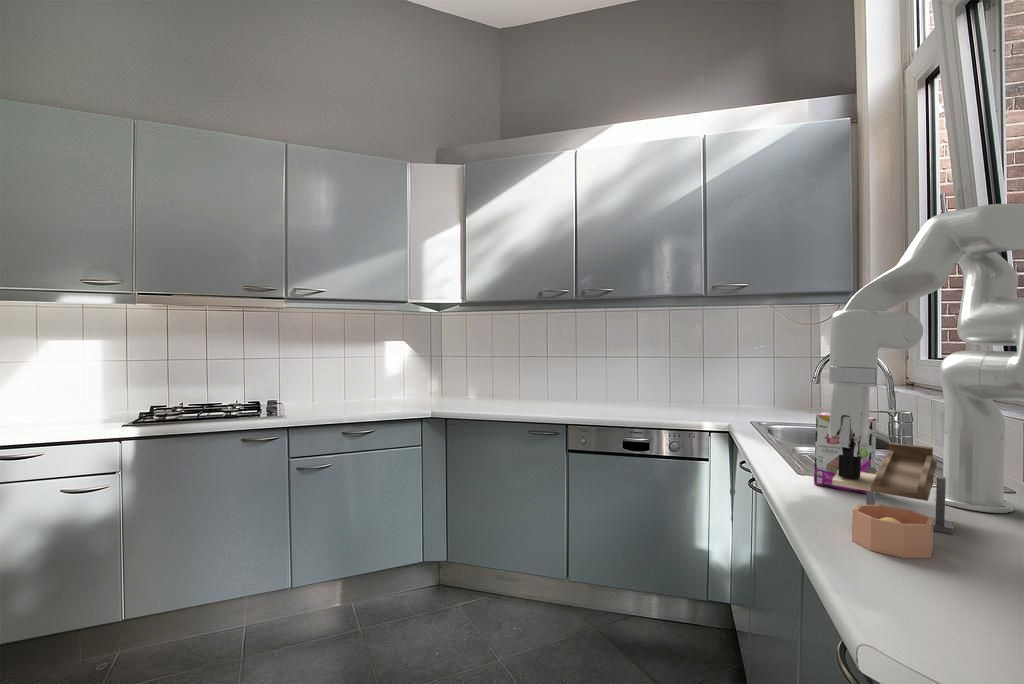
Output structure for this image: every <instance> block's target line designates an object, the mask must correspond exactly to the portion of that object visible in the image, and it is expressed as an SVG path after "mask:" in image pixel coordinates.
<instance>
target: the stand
mask: <svg viewBox="0 0 1024 684" xmlns="http://www.w3.org/2000/svg"><path fill="white" fill-rule="evenodd" d="M867 473H871V474H877V467H876V466H875V467H868V468H867ZM935 486H936V490H935V492H936V500H935V518H934V517H932V518H933V519H934V520H933V532H938V533H943V534H948V535H953V533H954V528H955V522H954V521H952V520H946V504H945V493H946V477H943V476H937V477H936V485H935ZM876 493H877V492H872V491H867V494H866V504H865V505H876Z"/></svg>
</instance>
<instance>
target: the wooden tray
mask: <svg viewBox="0 0 1024 684" xmlns="http://www.w3.org/2000/svg"><path fill="white" fill-rule="evenodd" d="M933 453H934V448H933V447H932V446H924V445H923V446H922V445H915V444H906V443H899V442H898V443H897V442H889V444H888V452H887V453H885V455H884V458H883V460H882V462H881V464H880V466H879V468H878V470H877V471H876V474H871V473H864V472H860V478H859V479H851V478H845V477H840V476H839V475H838V472H839V470H838V471H837V473H836V474H835V476H834V478H833V479H832V485H836V486H842V487H848V488H854V489H860V490H866V491H872V492H876V493H879V494H884V495H890V496H896V497H901V498H909V499H915V500H919V501H926V502H929V498H930V494H931V491H932V489H933V486H934V485H933V484H934V478H935V475H936V470H937V465H938V460H936V459H934V458H933V457H934V456H933V455H934V454H933Z"/></svg>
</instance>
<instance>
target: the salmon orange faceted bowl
mask: <svg viewBox="0 0 1024 684" xmlns="http://www.w3.org/2000/svg"><path fill="white" fill-rule="evenodd" d="M884 517H890V518H894V519H896V520H898V521H899V522H900V523H896V522H891V521H886V520H881V518H884ZM933 518H934V517H930V516H927V515H925V514H921V513H920V512H917V511H915V510H912V509H907V508H900V507H894V506H888V505H885V504H875V505H866V504H857V505H856V506H855V507H854V508H853V509H852V526H851V528H852V529H851V531H852V532H851V541H852V542H854V543H855V544H858V545H860V546H861V547H863V548H865V549H867V550H869V551H870V552H874V553H876V552H877V553H880V554H883V555H889V556H893V557H898V558H902V559H931V557H932V554H933V550H934V531H933V520H934V519H933Z"/></svg>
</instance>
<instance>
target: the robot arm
mask: <svg viewBox="0 0 1024 684" xmlns="http://www.w3.org/2000/svg"><path fill="white" fill-rule="evenodd" d="M1016 250H1017V251H1018V250H1019V251H1020V250H1024V202H1023V203H994V204H993V203H992V204H984V205H979V206H973V207H968V208H964V209H957V210H952V211H948V212H943V213H940V214H937V215H934V216H932V217H931V218H929V219H927V220H926V221H925V223H924V224H923V225H922V226H921V228H920V229H919V231H918V232H917V234H916V235H915V237H914V239H913V240H912V241H911V243H910V245H909V246H908V248H906V251H905V252H904V253H903V255H902V256H901V258H900V260H899V261H898V262H897V264H896V265H895V266H894V267H892V268H891V269H889V270H887V271H886V272H884V273H883V274H881V275H880V276H878V277H877V278H875V279H873V280H872V281H870V282H869V283H868V284H866V285H865V286H863V287H862V288H860V289H859V290H858V291H857V292H856V293H855V294H854V295H853V296H851V298H850V300H849V301H848V302H847V304H846V305H845V306H844V308H843V309H840V310H837V311H835V312H834V313H832V315H831V318H830V333H829V335H830V337H829V339H830V340H829V367H828V368H829V369H828V370H829V371H828V384H829V385H833V387H832V391H831V392H832V393H831V400H830V412H829V413H830V422H829V437H830V438H833V439H834V438H836V437H838V436H840V454H839V472H838V475H839V476H840V477H845V478H851V479H859V478H860V471H861V456H860V452H861V439H863V438H865V437H866V436H867V433H868V424H869V418H870V391H871V390H870V387H871V388H873V387H875V388H876V387H878V367H879V366H878V363H879V362H878V361H879V360H878V359H879V352H902V351H903V352H904V351H909V350H911V349H912V348H914V347H916V346H917V345H918V344H919V343H920V341H922V338H923V336H924V335H923V334H924V326H923V323H922V321H921V320H920V319H919V317H917V316H916V315H914V314H913V313H910V312H908V311H904V310H891V309H893V308H895V307H898V306H899V305H902V304H904V303H908V302H911V301H914V300H917V299H920V298H922V297H924V296H927V295H929V294H931V293H934V292H936V291H938V290H940V288H942V287H943V286H944V284H945V283H946V282H947V280H948V278H949V276H950V275H951V274H952V272H953V271H954V269H955V268H956V265H957V264H958V265H959V267H960V269H961V272H962V274H963V288H962V294H961V299H960V307H959V311H958V318H957V328H956V329H957V330H956V332H957V335H958V337H959V339H960V340H962V341H963V342H965V343H967V344H970V345H978V346H997V347H998V346H1004V347H1005V346H1009V347H1010V346H1011V347H1012V346H1013V347H1014V346H1015V347H1016V348H1017V349H1016V351H1013V350H1011V351H1009V350H1007V351H1004V350H978V349H977V350H974V349H971V350H960V351H959V350H958V351H956V352H953V353H951V354H949V355H947V356H945V357H944V358H943V360H942V361H941V363H940V365H939V379H940V383H941V389H942V392H943V393H942V394H943V403H944V426H943V429H944V432H943V433H944V434H943V464H942V465H943V470H942V471H943V473H942V477H946V493H945V505H947V506H951V507H954V508H959V509H963V510H969V511H974V512H981V513H993V514H1008V512H1009V513H1012V512H1014V510H1015V509H1014V504H1013V503H1011V502H1010V501H1007V500H1005V499H1004V492H1005V491H1004V488H1005V487H1004V485H1005V484H1004V482H1005V448H1006V447H1005V445H1006V444H1005V443H1006V442H1005V441H1006V439H1005V438H1006V421H1005V417H1004V415H1003V412H1002V411H1001V410H1000V408H999V407H998V406H997V404H996V403H995V401H994V400H1004V401H1014V402H1015V401H1016V402H1024V297H1017V294H1018V293H1017V292H1018V283H1019V275H1018V273H1017V271H1016V270H1015V268H1014V267H1013V266H1012V264H1010V263H1009V262H1008V261H1007V260H1006V259H1005V258H1004V257H1002V255H1000V254H999V253H1001V252H1009V251H1010V252H1011V251H1016ZM932 495H933V499H934V500H935V501H936V491H934V492H933V494H932Z"/></svg>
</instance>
